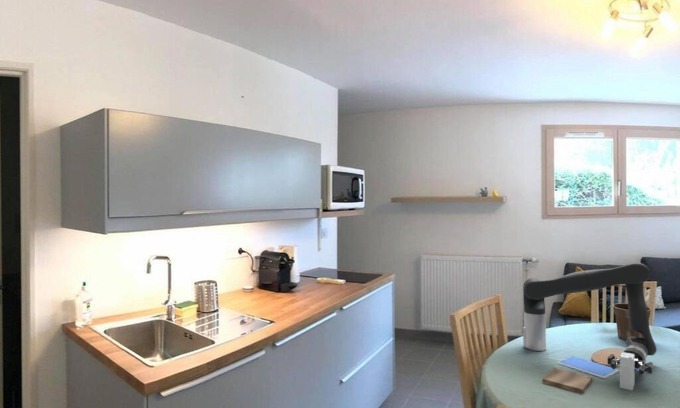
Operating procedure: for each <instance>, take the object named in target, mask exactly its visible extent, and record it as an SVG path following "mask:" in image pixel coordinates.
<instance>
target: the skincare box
mask: <svg viewBox="0 0 680 408" xmlns="http://www.w3.org/2000/svg"><path fill="white" fill-rule="evenodd" d="M619 357H620V367H619V388H620V389H624V390H629V391H634V387H635V379H636V377H635V376H636V375H635V371H636V370H635V355H634V354H631V353H625V352H624V351H622V352H620V356H619Z"/></svg>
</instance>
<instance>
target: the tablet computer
mask: <svg viewBox="0 0 680 408" xmlns="http://www.w3.org/2000/svg"><path fill="white" fill-rule="evenodd" d="M557 364H558V365H561V366H564V367H567V368H571V369H573V370H577V371H580V372H583V373H586V374H589V375H592V376H595V377H598V378H601V379H608V378H609V377H611V376H613V375H615V374H618V373H620V369H617V368H615V369H612V367H611V366H607V365H604V364H601V363H597V362H594V361H591V360H587V359H583V358H580V357H577V356H574V355H573V356H570V357H567V358H565V359H561V360H559V361H558V362H557Z"/></svg>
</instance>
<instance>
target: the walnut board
mask: <svg viewBox="0 0 680 408" xmlns="http://www.w3.org/2000/svg"><path fill="white" fill-rule="evenodd" d="M592 382H593V376H589V375H585V374H582V373H581V374H580V373H577V372H574V371H569V370H565V369H561V368H557V367H553V368H552V369H551V370H550V371H549V372H548V373H547V374H546V375H545V376H543V378H542V384H547V385H551V386H554V387H558V388H562V389H565V390H568V391H571V392H572V391H573V392H575V393H580V394H584V393H585V391H586V390H587V389H588V388H589V386H590V385H591V384H592Z"/></svg>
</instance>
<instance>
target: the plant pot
mask: <svg viewBox="0 0 680 408" xmlns="http://www.w3.org/2000/svg"><path fill="white" fill-rule="evenodd" d="M646 307H647V311H648V319H649V320H650V318H651V312H652V311H653V310H652V308H651V307H649V306H647V305H646ZM612 308H613V313H614V315H615V322H616V331H617V337H618V338H619V339H621V340H624V341H626V340H627V338H628V337H640V338H645V337H644V336H643V335H642V334H641V333H639V332H635V331H632V330H631V329H630V325H629V311H628V302H626V303H625V302H620V303H619V302H617V303H613V304H612Z"/></svg>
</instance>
